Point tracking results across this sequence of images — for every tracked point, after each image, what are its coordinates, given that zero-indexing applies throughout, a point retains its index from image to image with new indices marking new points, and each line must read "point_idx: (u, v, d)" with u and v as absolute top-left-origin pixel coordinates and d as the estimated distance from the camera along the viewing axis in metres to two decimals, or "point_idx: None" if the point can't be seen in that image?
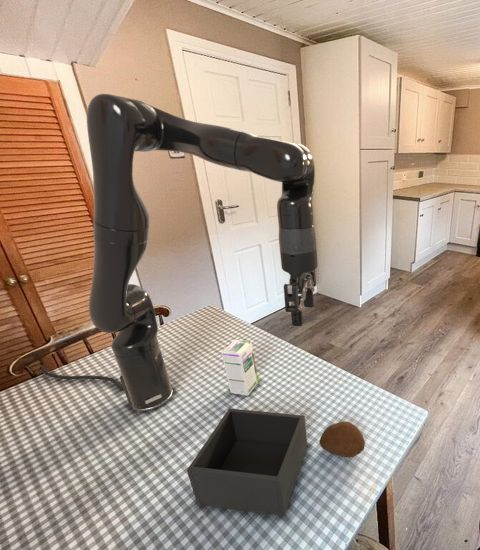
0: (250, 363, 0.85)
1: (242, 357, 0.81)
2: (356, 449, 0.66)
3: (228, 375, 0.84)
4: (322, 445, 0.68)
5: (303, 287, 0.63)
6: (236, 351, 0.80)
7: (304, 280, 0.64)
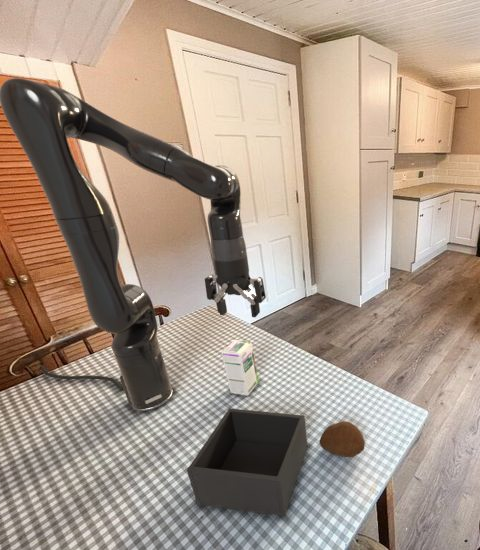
0: (250, 363, 0.85)
1: (242, 357, 0.81)
2: (356, 449, 0.66)
3: (228, 375, 0.84)
4: (322, 445, 0.68)
5: None
6: (236, 351, 0.80)
7: (224, 282, 0.73)
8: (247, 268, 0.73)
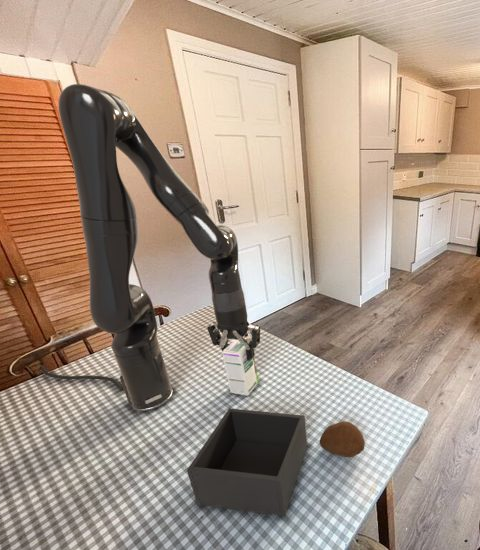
0: (250, 363, 0.85)
1: (242, 357, 0.81)
2: (356, 449, 0.66)
3: (228, 375, 0.84)
4: (322, 445, 0.68)
5: None
6: (236, 351, 0.80)
7: (224, 329, 0.79)
8: (245, 315, 0.79)
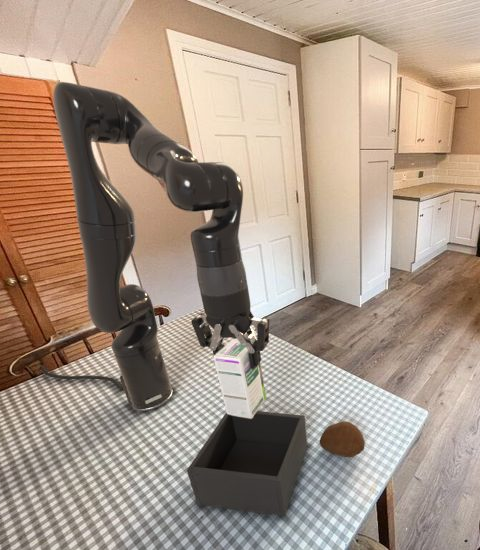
0: (254, 373, 0.59)
1: (244, 364, 0.55)
2: (356, 449, 0.66)
3: (223, 390, 0.58)
4: (322, 445, 0.68)
5: None
6: (235, 356, 0.55)
7: (217, 322, 0.54)
8: (248, 302, 0.54)
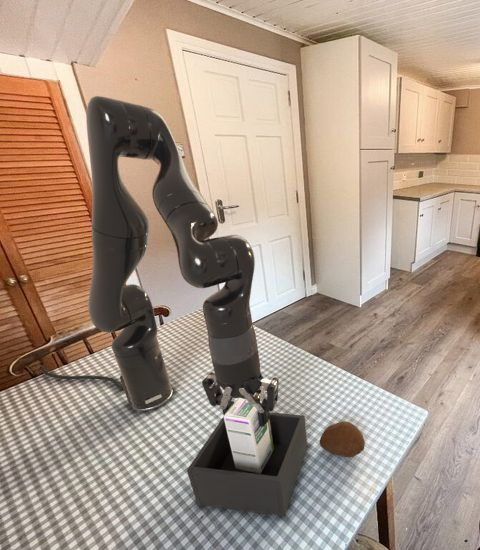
0: (263, 429, 0.59)
1: (253, 424, 0.56)
2: (356, 449, 0.66)
3: (233, 447, 0.58)
4: (322, 445, 0.68)
5: None
6: (245, 417, 0.55)
7: (227, 384, 0.54)
8: (258, 365, 0.54)
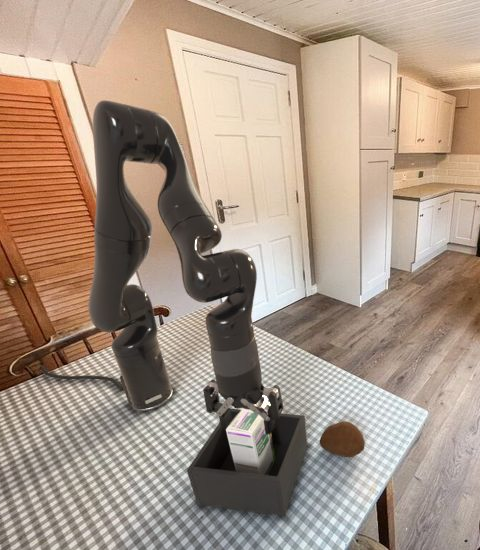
0: (265, 441, 0.61)
1: (255, 437, 0.57)
2: (356, 449, 0.66)
3: (235, 459, 0.60)
4: (322, 445, 0.68)
5: None
6: (246, 430, 0.56)
7: (229, 395, 0.55)
8: (259, 376, 0.55)
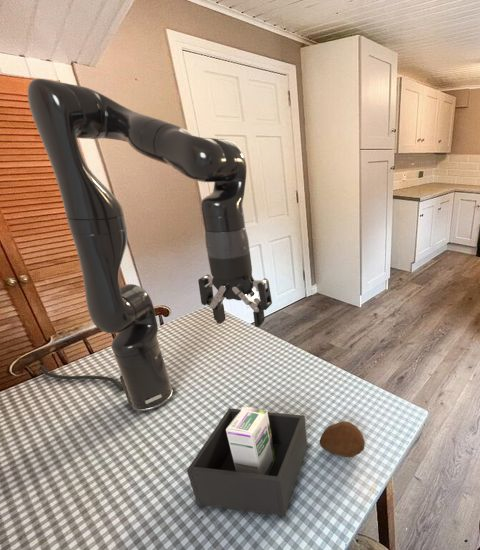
0: (265, 441, 0.61)
1: (255, 437, 0.57)
2: (356, 449, 0.66)
3: (235, 459, 0.60)
4: (322, 445, 0.68)
5: None
6: (246, 430, 0.56)
7: (222, 285, 0.60)
8: (250, 267, 0.60)
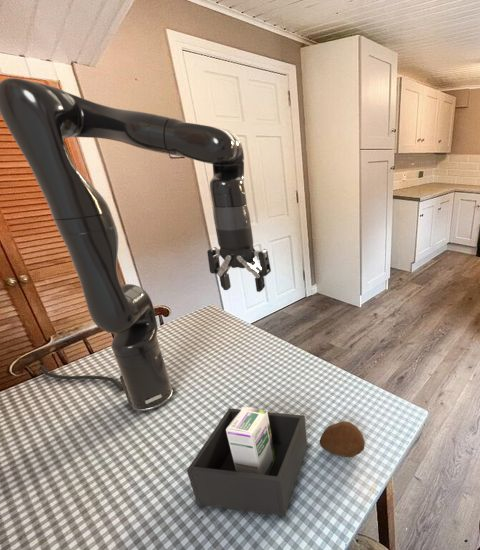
0: (265, 441, 0.61)
1: (255, 437, 0.57)
2: (356, 449, 0.66)
3: (235, 459, 0.60)
4: (322, 445, 0.68)
5: None
6: (246, 430, 0.56)
7: (228, 254, 0.70)
8: (251, 239, 0.70)
